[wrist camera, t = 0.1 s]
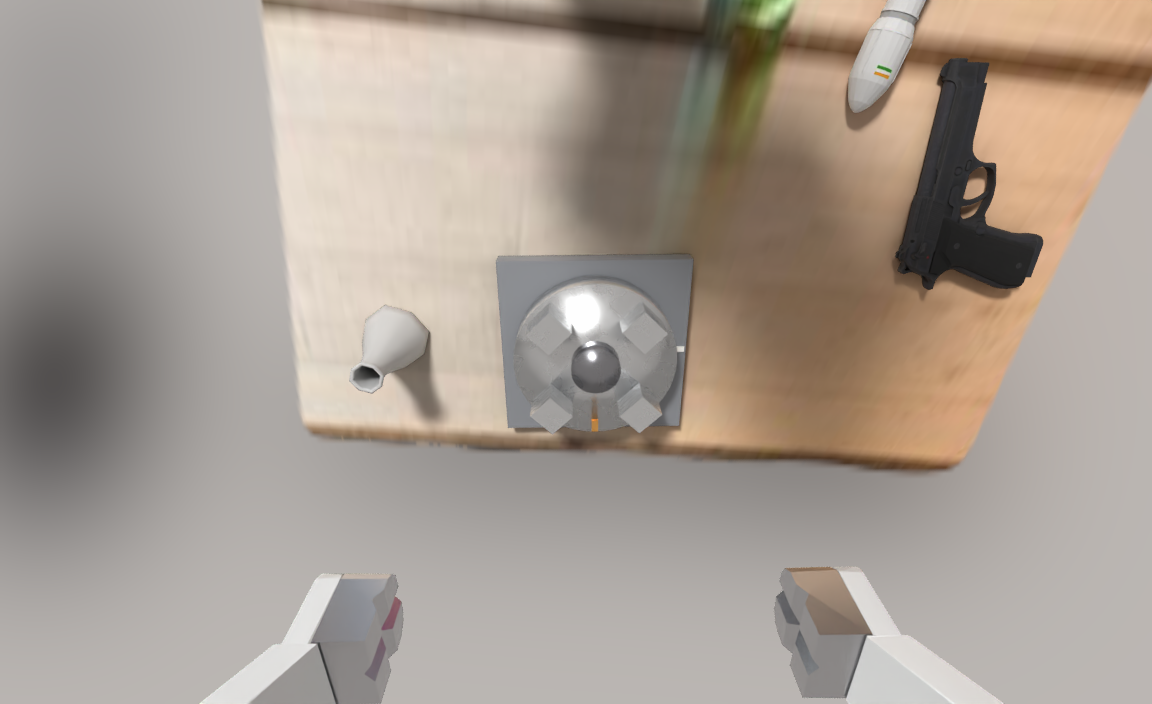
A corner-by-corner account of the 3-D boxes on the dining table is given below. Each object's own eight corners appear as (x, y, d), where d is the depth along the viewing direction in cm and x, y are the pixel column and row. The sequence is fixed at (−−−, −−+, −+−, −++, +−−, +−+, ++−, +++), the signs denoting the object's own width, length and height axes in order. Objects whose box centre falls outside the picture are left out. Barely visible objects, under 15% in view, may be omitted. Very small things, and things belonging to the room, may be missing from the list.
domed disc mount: (511, 276, 56) (505, 296, 51) (677, 274, 56) (689, 294, 51) (520, 417, 63) (515, 448, 58) (667, 416, 64) (676, 446, 58)
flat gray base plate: (498, 256, 57) (495, 262, 55) (689, 253, 58) (693, 259, 56) (509, 418, 66) (507, 428, 64) (676, 416, 66) (679, 426, 64)
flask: (352, 342, 62) (314, 386, 53) (381, 292, 59) (347, 329, 50) (409, 375, 64) (382, 423, 55) (440, 328, 61) (418, 370, 52)
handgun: (1111, 58, 48) (956, 57, 48) (1030, 292, 57) (898, 293, 56) (1078, 61, 51) (932, 60, 51) (1006, 283, 60) (880, 284, 59)
